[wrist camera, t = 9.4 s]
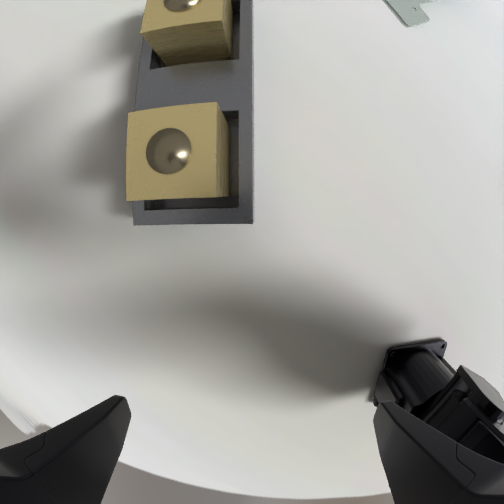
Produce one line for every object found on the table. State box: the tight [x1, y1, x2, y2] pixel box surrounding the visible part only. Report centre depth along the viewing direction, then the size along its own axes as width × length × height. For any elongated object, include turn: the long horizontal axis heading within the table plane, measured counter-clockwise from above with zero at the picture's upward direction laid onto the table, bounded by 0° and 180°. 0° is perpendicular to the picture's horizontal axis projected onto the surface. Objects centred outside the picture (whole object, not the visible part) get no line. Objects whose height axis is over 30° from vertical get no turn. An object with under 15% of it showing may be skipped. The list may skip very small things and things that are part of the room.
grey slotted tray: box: [133, 0, 254, 225], centre depth 16 cm, size 8×17×2 cm, turn 0°
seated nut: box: [126, 102, 231, 201], centre depth 15 cm, size 4×4×6 cm
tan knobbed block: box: [140, 0, 234, 67], centre depth 13 cm, size 4×4×6 cm
